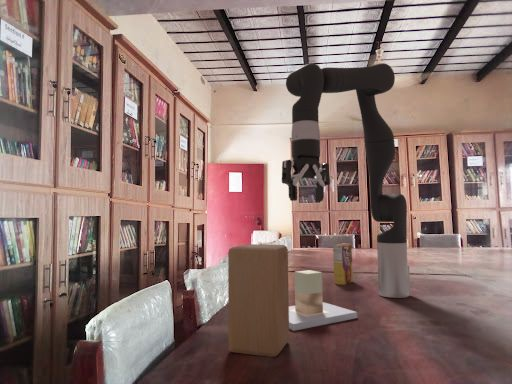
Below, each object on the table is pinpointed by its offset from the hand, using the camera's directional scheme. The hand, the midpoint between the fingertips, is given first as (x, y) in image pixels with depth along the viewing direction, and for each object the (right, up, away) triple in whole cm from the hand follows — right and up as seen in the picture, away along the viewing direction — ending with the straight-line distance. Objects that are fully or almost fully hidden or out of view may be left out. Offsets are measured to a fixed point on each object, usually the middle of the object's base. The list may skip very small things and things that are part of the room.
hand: (306, 201), depth 95 cm
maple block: (0, -28, -2) cm, 29 cm away
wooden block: (-13, -29, -24) cm, 39 cm away
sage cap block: (0, -23, -2) cm, 24 cm away
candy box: (+21, -34, +47) cm, 62 cm away
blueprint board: (0, -30, -2) cm, 30 cm away
